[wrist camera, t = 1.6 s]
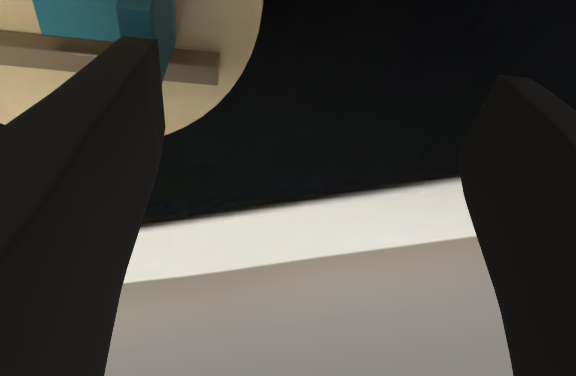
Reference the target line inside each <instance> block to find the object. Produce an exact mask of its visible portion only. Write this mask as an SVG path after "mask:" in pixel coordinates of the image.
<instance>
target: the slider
mask: <svg viewBox="0 0 576 376" xmlns="http://www.w3.org/2000/svg"><path fill="white" fill-rule="evenodd" d="M32 2H33V6H34V9H35V13H36V16H37V20H38V23H39V27H40V30H41V33H42V35H49V36H59V37H69V38H79V39H88V40H98V41H108V42H115V41H117V40H118V39H119V38H121V37H122V36H130V37H140V38H149V39H158V49H159V60H160V71H161V82H162V83H163V80H164V76H165V73H166V70H167V66H168V63H169V59H170V56H171V53H172V49H173V48H174V47H175V44H176V41H177V35H176V18H175V0H32Z"/></svg>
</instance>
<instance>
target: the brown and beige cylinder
mask: <svg viewBox="0 0 576 376" xmlns="http://www.w3.org/2000/svg"><path fill="white" fill-rule="evenodd" d="M262 9H263V0H175V18H176V35H177V41H176V44H175V47H174V48H173V49H172V53H171V56H170V59H169V63H168V66H167V70H166V73H165V76H164V80H163V83H162V93H163V104H164V115H165V126H166V128H165V134H164V135H167V134H169V133H172V132H174V131H176V130H179V129H181V128H183V127H186V126H187V125H189V124H191V123H192V122H194V121H196V120H197V119H199V118H201V117H202V116H203V115H205V114H206V113H207V112H208V111H210V110H211V109H212V108H213V107H215V106H216V105H217V104H218V103H219V102H220V101H221V100H222V99H223V98H224V97H225V96H226V94H227V93H228V92H229V91H230V90H231V89H232V88H233V86H234V85H235V83H236V82H237V80H238V79H239V77H240V76H241V74H242V73H243V71H244V69H245V67H246V65H247V63H248V61H249V58H250V56H251V54H252V52H253V49H254V46H255V42H256V39H257V36H258V33H259V29H260V22H261V16H262ZM113 43H114V42H108V41H98V40H88V39H79V38H69V37H59V36H49V35H42V33H41V30H40V27H39V23H38V20H37V16H36V13H35V9H34V6H33V2H32V0H0V123H1V124H4V125H6V124H7V123H9V122H10V121H11V120H13V119H14V118H16V117H17V116H19V115H20V114H21V113H23V112H24V111H26V110H27V109H29V108H30V107H31V106H33V105H34V104H36V103H37V102H39V101H40V100H42V99H43V98H44V97H46V96H47V95H49V94H50V93H51V92H53V91H54V90H55V89H57V88H58V87H59V86H60V85H62V84H63V83H64V82H66V81H67V80H68V79H69V78H71V77H72V76H73V75H74V74H76V73H77V72H78V71H80V70H81V69H82V68H83V67H85V66H86V65H87V64H88V63H90V62H91V61H92V60H93V59H94V58H96V57H97V56H98V55H99V54H100V53H102V52H103V51H104V50H105V49H107V48H108V47H109V46H110V45H112V44H113Z"/></svg>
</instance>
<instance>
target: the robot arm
mask: <svg viewBox="0 0 576 376" xmlns="http://www.w3.org/2000/svg"><path fill="white" fill-rule="evenodd" d="M165 128H166V126H165V115H164V104H163V93H162V82H161V71H160V60H159V49H158V39H149V38H140V37H130V36H122V37H121V38H119V39H118V40H117V41H115V42H114V43H113V44H112V45H110V46H109V47H108V48H107V49H105V50H104V51H103V52H102V53H100V54H99V55H98V56H97V57H96V58H94V59H93V60H92V61H91V62H90V63H88V64H87V65H86V66H85V67H83V68H82V69H81V70H80V71H78V72H77V73H76V74H74V75H73V76H72V77H71V78H69V79H68V80H67V81H66V82H64V83H63V84H62V85H60V86H59V87H58V88H57V89H55V90H54V91H53V92H51V93H50V94H49V95H47V96H46V97H44V98H43V99H42V100H40V101H39V102H37V103H36V104H34V105H33V106H31V107H30V108H29V109H27V110H26V111H24V112H23V113H21V114H20V115H19V116H17V117H16V118H14V119H13V120H11V121H10V122H9V123H7V124H6V125H4V126H3V127H1V128H0V376H104V373H105V368H106V363H107V357H108V352H109V347H110V341H111V336H112V331H113V327H114V322H115V317H116V312H117V307H118V302H119V297H120V293H121V289H122V285H123V281H124V277H125V274H126V270H127V267H128V264H129V261H130V257H131V254H132V251H133V248H134V245H135V242H136V239H137V236H138V233H139V229H140V226H141V223H142V220H143V217H144V214H145V211H146V208H147V205H148V201H149V198H150V195H151V192H152V189H153V185H154V182H155V179H156V176H157V172H158V168H159V162H160V157H161V152H162V146H163V140H164V134H165ZM457 154H458V161H459V168H460V175H461V181H462V187H463V192H464V197H465V200H466V204H467V207H468V210H469V213H470V216H471V220H472V223H473V226H474V229H475V232H476V235H477V238H478V241H479V244H480V247H481V250H482V253H483V256H484V259H485V262H486V265H487V268H488V271H489V274H490V277H491V280H492V283H493V286H494V289H495V293H496V296H497V300H498V303H499V307H500V311H501V315H502V319H503V324H504V329H505V334H506V338H507V343H508V348H509V353H510V358H511V364H512V370H513V375H514V376H576V111H575V110H574V109H573V108H572V107H570V106H569V105H568V104H566V103H565V102H564V101H562V100H561V99H560V98H558V97H557V96H555V95H554V94H553V93H551V92H550V91H548V90H547V89H546V88H544V87H543V86H541V85H540V84H538V83H536V82H535V81H533V80H531V79H529V78H524V77H514V76H505V75H498V76H497V78H496V80H495V82H494V84H493V86H492V88H491V90H490V91H489V93H488V95H487V97H486V99H485V101H484V103H483V105H482V107H481V109H480V111H479V112H478V114H477V116H476V118H475V120H474V122H473V124H472V126H471V128H470V130H469V132H468V134H467V135H466V137H465V139H464V141H463V143H462V145H461V147H460V149H459V151H458V153H457Z"/></svg>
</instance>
